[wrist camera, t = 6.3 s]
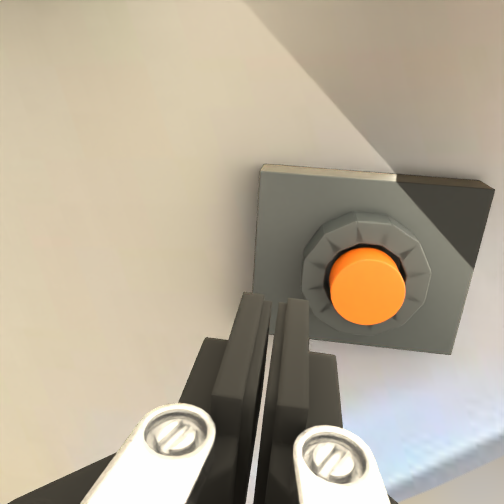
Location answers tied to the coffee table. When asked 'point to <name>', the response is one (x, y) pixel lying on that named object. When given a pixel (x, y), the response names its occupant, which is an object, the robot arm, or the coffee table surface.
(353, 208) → the control block
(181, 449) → the robot arm
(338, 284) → the button
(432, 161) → the coffee table surface
